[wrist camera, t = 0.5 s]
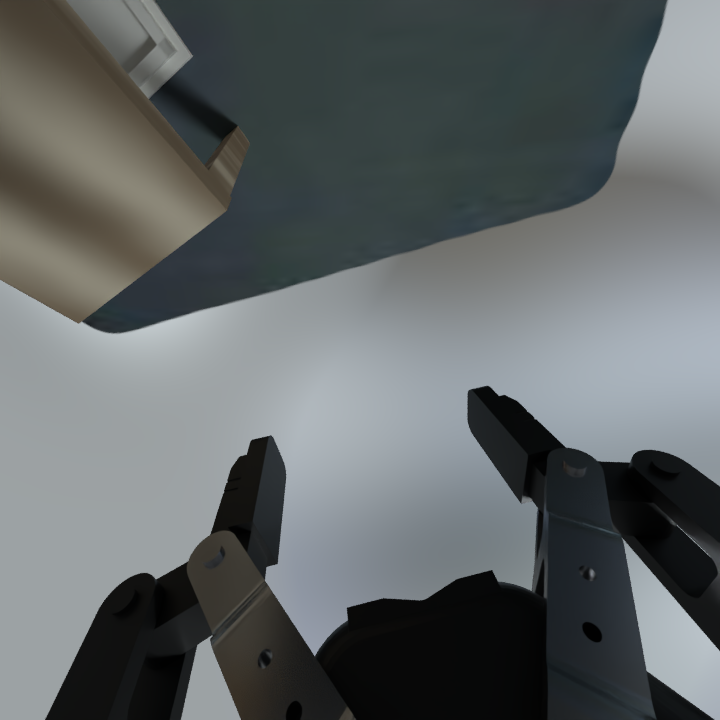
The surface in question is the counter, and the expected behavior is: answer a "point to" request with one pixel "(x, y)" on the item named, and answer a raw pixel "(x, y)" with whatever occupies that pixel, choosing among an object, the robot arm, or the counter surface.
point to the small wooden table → (90, 166)
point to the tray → (136, 39)
